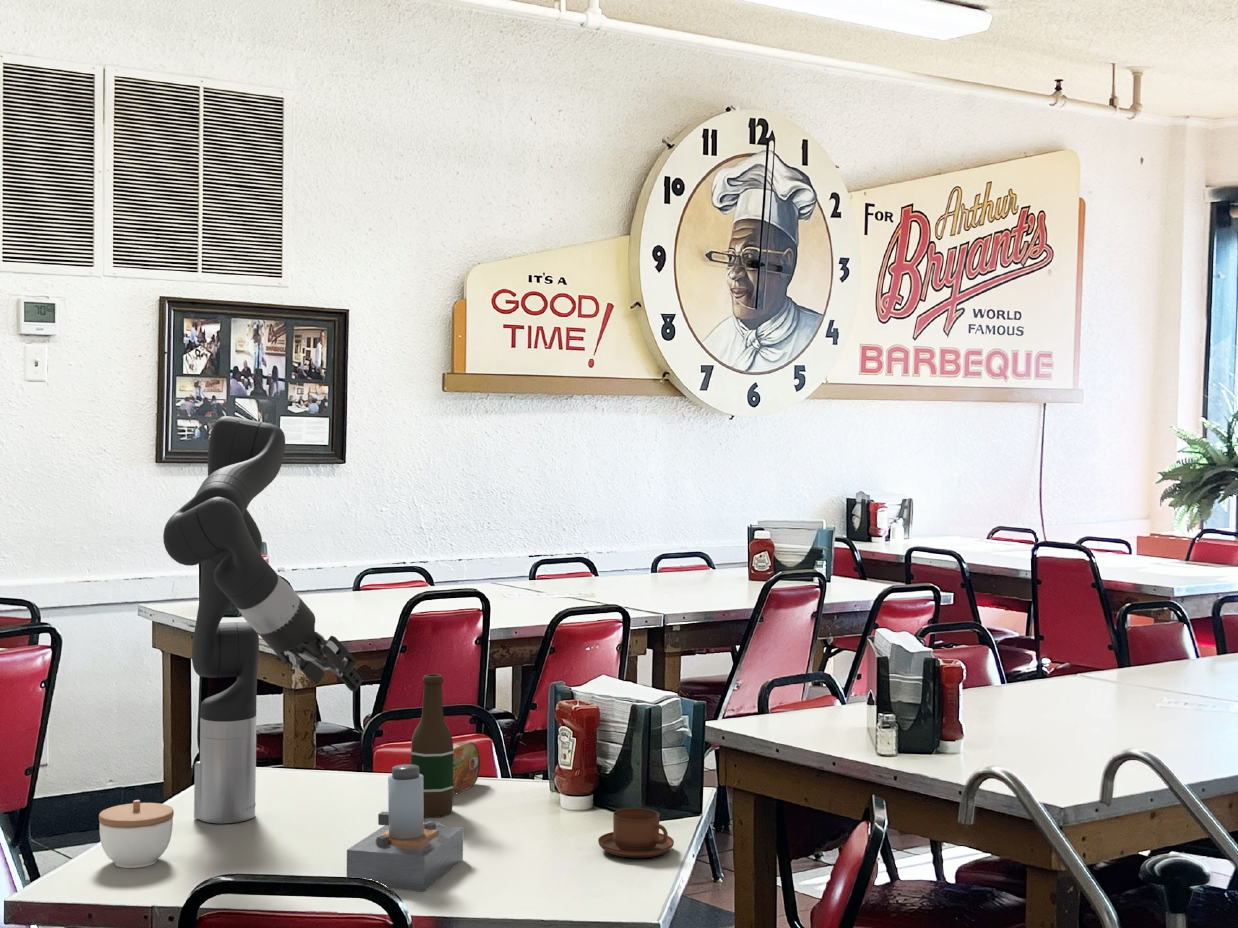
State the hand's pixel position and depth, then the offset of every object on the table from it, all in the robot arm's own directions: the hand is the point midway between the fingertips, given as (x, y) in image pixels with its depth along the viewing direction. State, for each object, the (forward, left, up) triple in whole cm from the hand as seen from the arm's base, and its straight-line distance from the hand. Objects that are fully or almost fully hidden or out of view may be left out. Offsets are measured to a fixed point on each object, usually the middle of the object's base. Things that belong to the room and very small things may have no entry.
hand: (338, 682), depth 201 cm
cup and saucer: (+39, +27, -29) cm, 56 cm away
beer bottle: (-1, +40, -29) cm, 49 cm away
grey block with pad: (+8, +10, -29) cm, 32 cm away
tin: (-2, +56, -29) cm, 63 cm away
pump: (+8, +7, -23) cm, 26 cm away
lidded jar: (-33, 0, -29) cm, 44 cm away
